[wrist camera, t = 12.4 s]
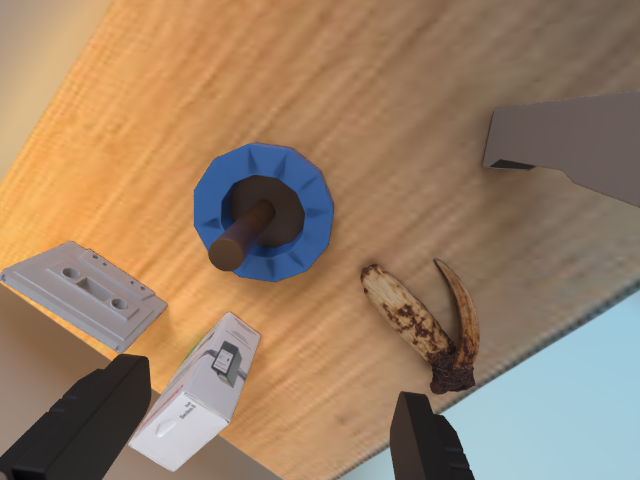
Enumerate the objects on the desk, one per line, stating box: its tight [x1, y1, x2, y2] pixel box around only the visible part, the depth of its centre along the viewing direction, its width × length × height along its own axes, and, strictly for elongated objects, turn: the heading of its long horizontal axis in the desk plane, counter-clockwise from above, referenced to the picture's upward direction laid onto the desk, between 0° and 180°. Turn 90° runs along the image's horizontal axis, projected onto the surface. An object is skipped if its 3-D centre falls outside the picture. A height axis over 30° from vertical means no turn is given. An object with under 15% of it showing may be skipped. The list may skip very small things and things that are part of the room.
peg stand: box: [208, 156, 305, 271], centre depth 26 cm, size 9×9×12 cm
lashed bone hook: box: [360, 259, 479, 394], centre depth 32 cm, size 9×5×18 cm
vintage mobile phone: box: [482, 89, 640, 208], centre depth 17 cm, size 4×5×25 cm
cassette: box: [0, 241, 167, 353], centre depth 31 cm, size 12×2×8 cm, turn 51°
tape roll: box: [194, 143, 334, 282], centre depth 29 cm, size 12×12×3 cm
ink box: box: [129, 312, 261, 472], centre depth 32 cm, size 9×5×12 cm, turn 137°
